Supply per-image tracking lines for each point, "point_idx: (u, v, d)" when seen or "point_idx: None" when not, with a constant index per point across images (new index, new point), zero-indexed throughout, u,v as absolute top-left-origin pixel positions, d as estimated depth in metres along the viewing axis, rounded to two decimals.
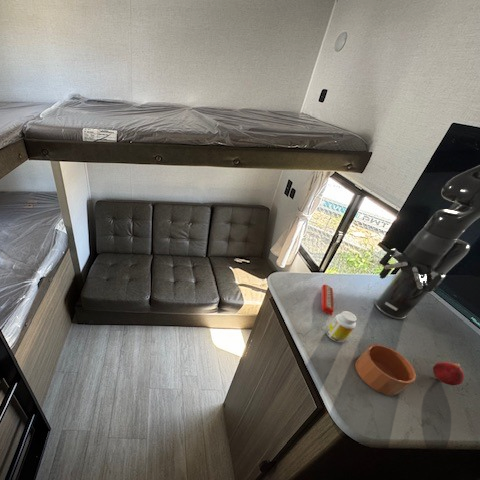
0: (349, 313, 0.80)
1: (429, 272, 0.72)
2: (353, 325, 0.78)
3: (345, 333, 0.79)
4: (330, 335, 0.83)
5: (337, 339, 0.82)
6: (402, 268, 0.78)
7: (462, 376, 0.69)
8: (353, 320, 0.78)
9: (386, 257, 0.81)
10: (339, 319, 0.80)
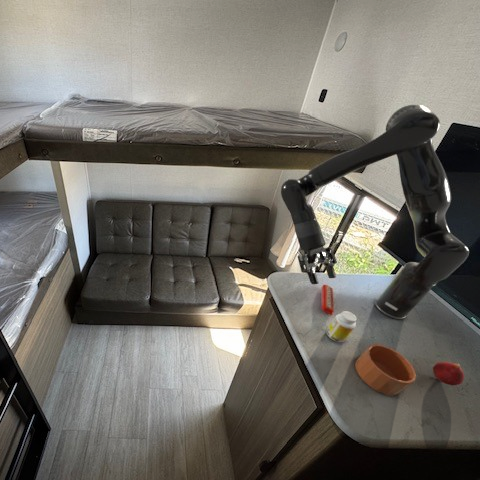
0: (349, 313, 0.80)
1: None
2: (353, 325, 0.78)
3: (345, 333, 0.79)
4: (330, 335, 0.83)
5: (337, 339, 0.82)
6: None
7: (462, 376, 0.69)
8: (353, 320, 0.78)
9: None
10: (339, 319, 0.80)
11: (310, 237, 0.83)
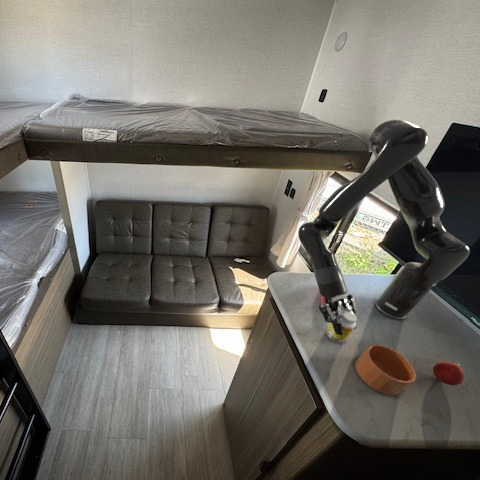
0: (349, 313, 0.80)
1: (325, 302, 0.81)
2: (353, 325, 0.78)
3: (345, 333, 0.79)
4: (330, 335, 0.83)
5: (337, 339, 0.82)
6: None
7: (462, 376, 0.69)
8: (353, 320, 0.78)
9: None
10: None
11: (331, 284, 0.79)
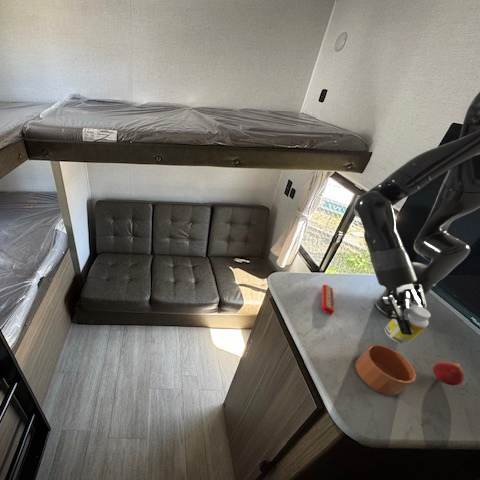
0: (419, 308, 0.63)
1: (387, 294, 0.64)
2: (426, 322, 0.61)
3: (414, 332, 0.63)
4: (391, 335, 0.66)
5: (402, 340, 0.65)
6: None
7: (462, 376, 0.69)
8: (427, 316, 0.61)
9: None
10: None
11: (397, 270, 0.62)
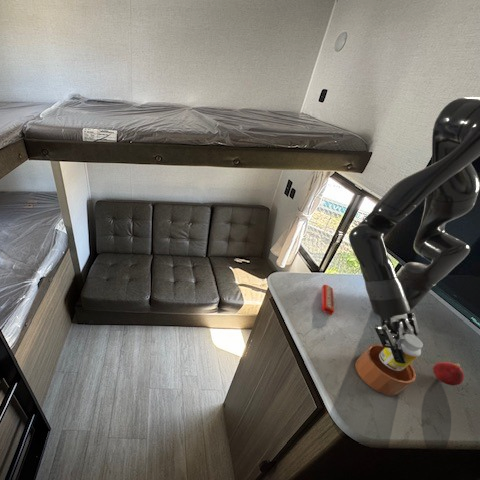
0: (412, 337, 0.65)
1: (381, 323, 0.67)
2: (418, 352, 0.64)
3: (407, 360, 0.65)
4: (386, 362, 0.69)
5: (396, 367, 0.67)
6: None
7: (462, 376, 0.69)
8: (419, 346, 0.63)
9: None
10: None
11: (391, 301, 0.65)
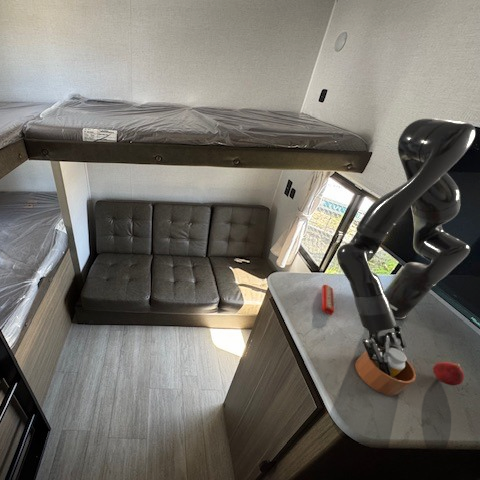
0: (397, 351, 0.69)
1: None
2: (402, 365, 0.68)
3: (392, 373, 0.69)
4: None
5: None
6: None
7: (462, 376, 0.69)
8: (403, 360, 0.67)
9: None
10: None
11: (378, 317, 0.68)
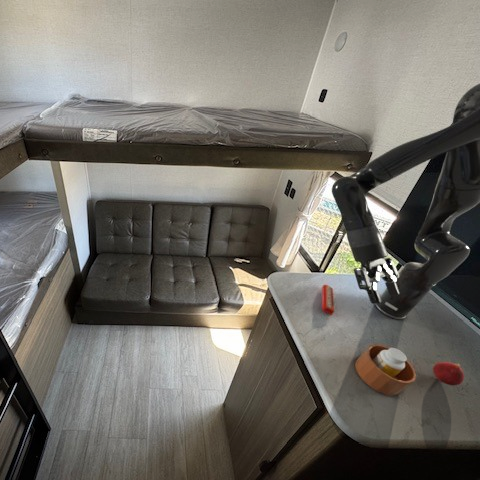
0: (397, 351, 0.69)
1: None
2: (402, 365, 0.68)
3: (392, 373, 0.69)
4: None
5: None
6: None
7: (462, 376, 0.69)
8: (403, 360, 0.67)
9: None
10: (385, 358, 0.69)
11: (370, 247, 0.69)
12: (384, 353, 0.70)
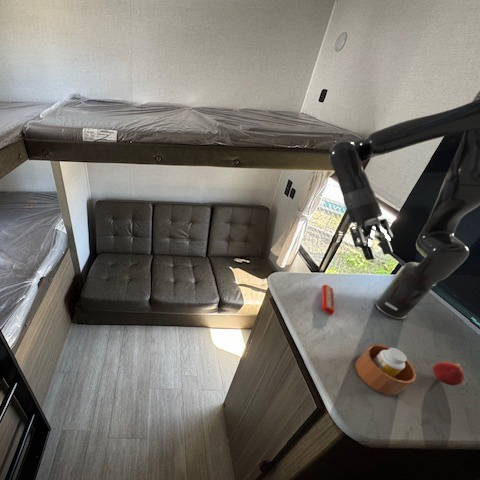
0: (397, 351, 0.69)
1: None
2: (402, 365, 0.68)
3: (392, 373, 0.69)
4: None
5: None
6: None
7: (462, 376, 0.69)
8: (403, 360, 0.67)
9: None
10: (385, 358, 0.69)
11: (365, 206, 0.73)
12: (384, 353, 0.70)
